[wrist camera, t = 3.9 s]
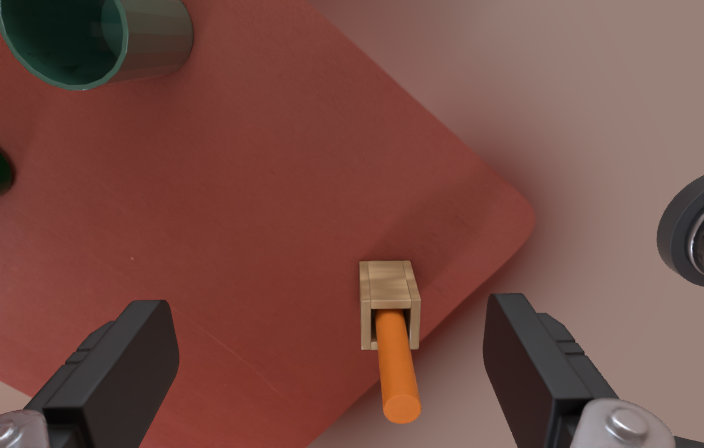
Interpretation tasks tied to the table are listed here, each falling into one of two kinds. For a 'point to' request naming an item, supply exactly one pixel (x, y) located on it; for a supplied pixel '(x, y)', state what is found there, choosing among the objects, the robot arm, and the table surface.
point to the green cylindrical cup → (97, 39)
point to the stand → (388, 298)
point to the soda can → (4, 175)
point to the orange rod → (396, 367)
